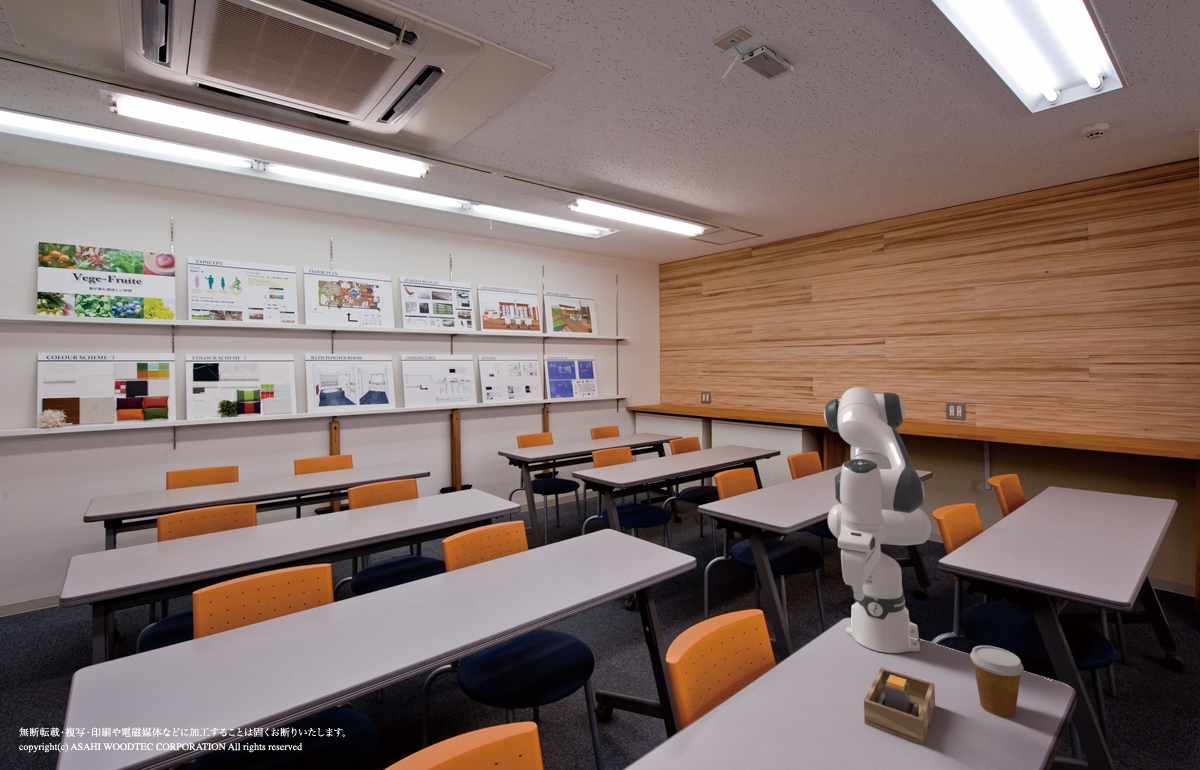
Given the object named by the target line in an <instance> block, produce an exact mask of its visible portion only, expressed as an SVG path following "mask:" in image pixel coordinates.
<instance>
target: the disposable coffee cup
mask: <svg viewBox="0 0 1200 770" xmlns="http://www.w3.org/2000/svg"><path fill="white" fill-rule="evenodd" d="M969 657H970V660H971V662H972V663H973V668H974V669H973V670H974V673H975V681H976V686H977V692H978V698H979V702H980V703H979V704H980V706H981V708H983V709H984V710H986V711H987V712H988V713H990V714H993V715H995V716H998V717H1002V718H1003V717H1004V718H1012V717H1014V716H1016V714H1017V713H1016V711H1017V706H1018V705H1017V704H1018V697H1019V689H1020V682H1021V675H1022V673H1023V671H1024V665H1023V664H1022V662H1021V659H1020V657H1019V656H1018V655H1016V654H1015V653H1013V652H1012V651H1011V652H1010V650H1006V649H1004V648H1000V647H998V646H997V647H996V646H992V645H977V646H974V647H973V648H972V651H971V652H970V654H969Z"/></svg>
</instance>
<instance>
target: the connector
mask: <svg viewBox="0 0 1200 770" xmlns="http://www.w3.org/2000/svg"><path fill="white" fill-rule="evenodd" d="M885 706H887V707H890V708H893V709H896V710H899V711H902V712H905V713H907V714H910V695H909V684H908V683H907V680H906V679H903V678H900V677H896V676H893V675H890V676H889V678H888V680H887V682H886V684H885Z"/></svg>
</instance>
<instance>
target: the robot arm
mask: <svg viewBox="0 0 1200 770" xmlns="http://www.w3.org/2000/svg"><path fill="white" fill-rule="evenodd" d="M905 415H906V407H905V404H904V401H903V400H902V399H901V398H900V396H899V395H898V394H897V393H895V392H883V393H874V392H872V390H870V389H868V388H865V387H861V386H856V387H851V388H849V389H847V390H846V391H845V392H843V394H842V395H841V398H834V399H832V400H829V401H828V402H826V404H825V405H824V410H823V418H824V422H825V424H826V425H827V428H828V429H829V430H830V431H832V432H833V433H839V436H840V437H841V438H842V439H843V441H845V442H846V443H847V444H849V445H850V459H848V460H845V462H843V463H842V466H841V470H840V471H839V472H837V474H836V475H835V476H834V486H835V489H834V490H835V500H836V501H837V502H838V503H839V504H838V503H837V504H834V505H833V506H832V507H831V508H830V510H829V512H828V515H827V525H828V529H829V530H830V532H831V533H832V535H833V536H834V537H835V538H836V539H837V547H838V548H839V549H841V550H840V561H841V563H840V564H841V571H842V578H843V582H844V583H845V585H847V586H851V589H852V591H853V598H854V599H855V600H856V602H855V603H853V604H852V605H851V611H850V612H851V615H850V616H851V618H850V620H851V621H850V624H849V625H847V626H846V627H845V632H846V633H847V634H849V636H851V637H853V639H854V640H855V641H856V642H857V643H859V644H860V645H861V646H863V647H865V648H867V649H870V650H873V651H877V652H881V653H886V654H887V653H888V654H901V653H907V652H920V651H921V647H920V646H921V645H920V637H919V627H918V625H917V624H916V623H913V622H911V621H910V620H911V619H910V617H909V616H910V615H909V612H910V611H909V609H908V608H907V607H906V600H905V599H906V598H905V595H904V588H903V585H902V584H903V583H902V577H903V576H902V567H901V566H900V564H899V563H898V562H897V560H895V559H894V558H892V557H891V556H888V555H887V554H885V553H883V552H882V551H881V545H893V546H894V545H896V546H913V545H921V544H924V543H926V542H927V540H928V539H929V537H930V536H931V531H932V525H931V520H930V518H929V517H928V514H926V512H925V511H924V510H923V509H921V508H920V507H922V506H923V504H924V499H925V488H924V485H923V482H922V479H921V478H920V476H919V474H918V472H917V471H916V469H915V467H914V465H913V463H912V460H911V458H910V456H909V453H908V451H907V449H906V445H905V444H904V441H903V440H902V437H901V435H900V433H899V432H898V430H897V429H898V428H899V427H900V426H901V425H902V423H904V418H905ZM907 636H908V637H907ZM910 637H912V638H916V639H919V641H918V640H915V639H912V638H910Z"/></svg>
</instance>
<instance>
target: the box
mask: <svg viewBox="0 0 1200 770" xmlns="http://www.w3.org/2000/svg"><path fill="white" fill-rule="evenodd" d="M890 675H893V676H896V677H900V678H903V679H906V680H907V683H908V684H909V695H910V714H907V713H905V712H902V711H899V710H896V709H893V708H890V707H887V706H885V684H886V682H887V680H888V678H889V676H890ZM935 692H936V689H935V683H934V682H930V681H926V680H924V679H920V678H918V677H914V676H910V675H907V674H904V673H900V672H897V671H894V670H890V669H887V668H884V667H880V669H879V670H878V673H877V674H876V676H875V678H874V680H873V682H872V684H871V686H870V688H869V690H868V692H867V694H866V695H865V698H864V699H863V709H864V710H863V713H864V714H863V715H864V717H863V718H864V724H865V725H868V726H871V727H873V728H876V729H880V730H882V731H884V732H887V733H889V734H892V735H895V736H898V737H900V738H903V739H905V740H909V741H912V742H914V743H916V744H919V745H923V746H924V743H925V742H926V741H925V740H926V736H927V734H928V730H929V728H930V723H931V720H932V717H933V714H934V710H935V707H936V696H935V695H936V693H935Z"/></svg>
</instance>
